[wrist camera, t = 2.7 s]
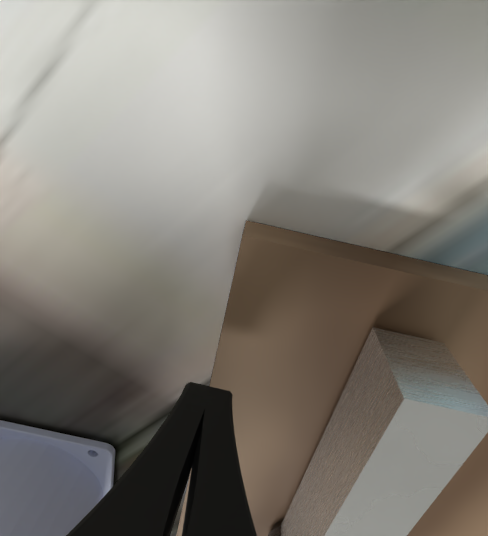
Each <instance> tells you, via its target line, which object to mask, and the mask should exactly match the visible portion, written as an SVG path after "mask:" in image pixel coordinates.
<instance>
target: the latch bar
mask: <svg viewBox="0 0 488 536" xmlns="http://www.w3.org/2000/svg"><path fill="white" fill-rule="evenodd" d="M487 433H488V405H487V403H486V402H485V400H484V399H483V398H482V396H481V395H480V393H479V392H478V391H477V389H476V388H475V386H474V385H473V384H472V382H471V381H470V379H469V378H468V376H467V375H466V374H465V372H464V371H463V369H462V368H461V367H460V365H459V364H458V362H457V361H456V360H455V358H454V357H453V355H452V354H451V353H450V351H449V350H448V348H447V347H446V345H445V344H444V343H441V342H437V341H432V340H428V339H423V338H419V337H414V336H410V335H405V334H401V333H396V332H392V331H387V330H383V329H378V328H374V327H373V328H372V330H371V332H370V334H369V336H368V339H367V341H366V343H365V345H364V347H363V349H362V352H361V354H360V356H359V358H358V360H357V362H356V364H355V367H354V369H353V371H352V373H351V375H350V377H349V380H348V382H347V384H346V386H345V388H344V390H343V393H342V395H341V397H340V399H339V401H338V403H337V405H336V408H335V410H334V412H333V414H332V416H331V418H330V421H329V423H328V425H327V427H326V429H325V431H324V433H323V436H322V438H321V440H320V442H319V444H318V446H317V449H316V451H315V453H314V455H313V457H312V459H311V462H310V464H309V466H308V468H307V470H306V472H305V474H304V477H303V479H302V481H301V483H300V485H299V487H298V490H297V492H296V494H295V496H294V498H293V500H292V503H291V505H290V507H289V509H288V511H287V513H286V515H285V518H284V520H283V522H282V524H281V526H278V527H276V528H274V529H273V530H272V531H270V533H269V534H268V536H407V535H408V533H409V532H410V531H411V530H412V528H413V527H414V526H415V525H416V523H417V522H418V521H419V519H420V518H421V517H422V516H423V514H424V513H425V512H426V510H427V509H428V508H429V507H430V505H431V504H432V503H433V502H434V500H435V499H436V498H437V496H438V495H439V494H440V493H441V491H442V490H443V489H444V487H445V486H446V485H447V484H448V482H449V481H450V480H451V479H452V477H453V476H454V475H455V473H456V472H457V471H458V470H459V468H460V467H461V466H462V464H463V463H464V462H465V461H466V459H467V458H468V457H469V456H470V454H471V453H472V452H473V450H474V449H475V448H476V447H477V445H478V444H479V443H480V442H481V440H482V439H483V438H484V436H485V435H486V434H487Z"/></svg>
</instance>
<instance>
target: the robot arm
mask: <svg viewBox="0 0 488 536" xmlns="http://www.w3.org/2000/svg"><path fill="white" fill-rule="evenodd" d="M232 396H233V395H232V393H231V392H230V391H228V390H223V389H219V388H214V387H210V386H205V385H201V384H196V383H192V382H190V383H188V384H186V386H185V388H184V390H183V392H182V394H181V396H180V398H179V400H178V401H177V403H176V405H175V406H174V408H173V409H172V411H171V412H170V414H169V416H168V417H167V419H166V420H165V421H164V423H163V424H162V426H161V427H160V428H159V430H158V431H157V433H156V434H155V435H154V437H153V438H152V440H151V441H150V442H149V444H148V445H147V446H146V447H145V449H144V450H143V451H142V452H141V454H140V455H139V456H138V457H137V459H136V460H135V461H134V462H133V464H132V465H131V466H130V467H129V469H128V470H127V471H126V472H125V473H124V474H123V476H122V477H121V478H120V479H119V480H118V481H117V483H116V484H115V485H114V486H113V481H114V464H115V449H114V447H113V446H112V445H110V444H108V443H105V442H100V441H95V440H91V439H86V438H81V437H77V436H72V435H67V434H63V433H58V432H53V431H49V430H44V429H40V428H35V427H30V426H26V425H21V424H16V423H12V422H7V421H2V420H0V536H170V534H171V531H172V527H173V524H174V521H175V518H176V515H177V512H178V509H179V506H180V503H181V499H182V496H183V493H184V490H185V487H186V484H187V481H188V478H189V474H190V471H191V476H190V483H189V490H188V497H187V503H186V510H185V517H184V524H183V531H182V536H257V534H256V530H255V527H254V523H253V520H252V516H251V512H250V508H249V505H248V501H247V496H246V492H245V488H244V483H243V479H242V474H241V469H240V464H239V458H238V452H237V447H236V440H235V433H234V424H233V411H232ZM191 468H192V470H191Z"/></svg>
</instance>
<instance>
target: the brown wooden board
mask: <svg viewBox="0 0 488 536" xmlns="http://www.w3.org/2000/svg"><path fill="white" fill-rule="evenodd" d="M373 327H374V328H378V329H383V330H387V331H392V332H396V333H401V334H405V335H410V336H414V337H419V338H423V339H428V340H432V341H437V342H441V343H444V344H445V345H446V347H447V348H448V350H449V351H450V353H451V354H452V355H453V357H454V358H455V360H456V361H457V362H458V364H459V365H460V367H461V368H462V369H463V371H464V372H465V374H466V375H467V376H468V378H469V379H470V381H471V382H472V384H473V385H474V386H475V388H476V389H477V391H478V392H479V393H480V395H481V396H482V398H483V399H484V400H485V402H486V403H487V405H488V275H484V274H480V273H475V272H471V271H467V270H462V269H458V268H453V267H449V266H445V265H440V264H436V263H431V262H427V261H423V260H418V259H414V258H409V257H405V256H401V255H396V254H392V253H387V252H383V251H379V250H374V249H370V248H365V247H361V246H357V245H352V244H348V243H343V242H339V241H335V240H330V239H326V238H321V237H317V236H313V235H308V234H304V233H299V232H295V231H291V230H286V229H282V228H277V227H273V226H269V225H264V224H260V223H255V222H251V221H247V220H246V223H245V227H244V231H243V235H242V240H241V244H240V249H239V253H238V258H237V262H236V267H235V272H234V276H233V281H232V285H231V290H230V294H229V299H228V303H227V308H226V312H225V317H224V322H223V326H222V331H221V335H220V340H219V344H218V349H217V353H216V358H215V363H214V367H213V372H212V376H211V381H210V385H209V386H210V387H214V388H219V389H223V390H228V391H230V392H231V393H232V395H233V396H232V411H233V424H234V433H235V440H236V447H237V452H238V458H239V464H240V469H241V474H242V479H243V483H244V488H245V492H246V496H247V501H248V505H249V508H250V512H251V516H252V520H253V523H254V527H255V530H256V534H257V536H268V534H269V533H270V531H272V530H273V529H274V528H276V527H278V526H281V524H282V522H283V520H284V518H285V515H286V513H287V511H288V509H289V507H290V505H291V503H292V500H293V498H294V496H295V494H296V492H297V490H298V487H299V485H300V483H301V481H302V479H303V477H304V474H305V472H306V470H307V468H308V466H309V464H310V462H311V459H312V457H313V455H314V453H315V451H316V449H317V446H318V444H319V442H320V440H321V438H322V436H323V433H324V431H325V429H326V427H327V425H328V423H329V421H330V418H331V416H332V414H333V412H334V410H335V408H336V405H337V403H338V401H339V399H340V397H341V395H342V393H343V390H344V388H345V386H346V384H347V382H348V380H349V377H350V375H351V373H352V371H353V369H354V367H355V364H356V362H357V360H358V358H359V356H360V354H361V352H362V349H363V347H364V345H365V343H366V341H367V339H368V336H369V334H370V332H371V330H372V328H373ZM191 470H192V468H191ZM190 476H191V472H190ZM190 476H189V481H188V485H187V490H186V494H185V499H184V503H183V508H182V513H181V517H180V522H179V526H178V531H177V535H176V536H182V531H183V524H184V517H185V510H186V503H187V497H188V490H189V483H190ZM407 536H488V433H487V434H486V435H485V436H484V438H483V439H482V440H481V442H480V443H479V444H478V445H477V447H476V448H475V449H474V450H473V452H472V453H471V454H470V456H469V457H468V458H467V459H466V461H465V462H464V463H463V464H462V466H461V467H460V468H459V470H458V471H457V472H456V473H455V475H454V476H453V477H452V479H451V480H450V481H449V482H448V484H447V485H446V486H445V487H444V489H443V490H442V491H441V493H440V494H439V495H438V496H437V498H436V499H435V500H434V502H433V503H432V504H431V505H430V507H429V508H428V509H427V510H426V512H425V513H424V514H423V516H422V517H421V518H420V519H419V521H418V522H417V523H416V525H415V526H414V527H413V528H412V530H411V531H410V532H409V533H408V535H407Z"/></svg>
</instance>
